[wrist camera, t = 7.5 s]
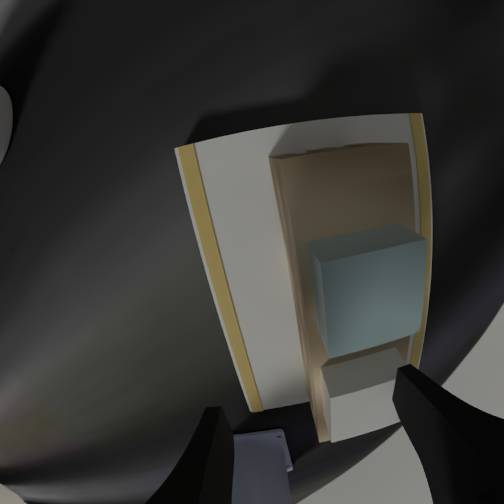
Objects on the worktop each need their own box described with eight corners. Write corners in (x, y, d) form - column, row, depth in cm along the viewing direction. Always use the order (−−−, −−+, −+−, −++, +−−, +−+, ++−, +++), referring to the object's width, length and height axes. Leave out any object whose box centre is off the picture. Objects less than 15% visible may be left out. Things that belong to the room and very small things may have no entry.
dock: (408, 354, 21) (418, 369, 19) (249, 394, 22) (250, 412, 20) (405, 115, 15) (423, 113, 13) (182, 148, 16) (174, 148, 14)
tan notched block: (370, 372, 19) (394, 420, 14) (306, 389, 19) (319, 442, 15) (359, 143, 14) (408, 143, 9) (267, 156, 14) (280, 159, 9)
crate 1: (398, 307, 11) (420, 331, 10) (317, 328, 12) (329, 358, 10) (399, 223, 10) (426, 239, 8) (306, 242, 10) (320, 262, 8)
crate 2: (388, 396, 14) (400, 421, 12) (323, 414, 14) (331, 442, 12) (395, 347, 12) (412, 372, 10) (320, 367, 12) (330, 398, 11)
